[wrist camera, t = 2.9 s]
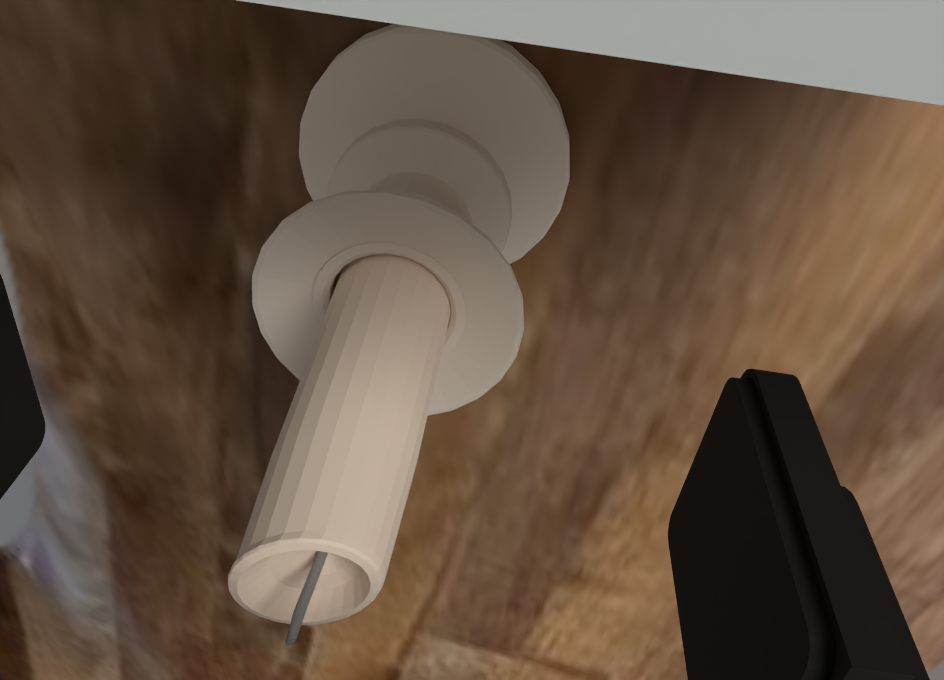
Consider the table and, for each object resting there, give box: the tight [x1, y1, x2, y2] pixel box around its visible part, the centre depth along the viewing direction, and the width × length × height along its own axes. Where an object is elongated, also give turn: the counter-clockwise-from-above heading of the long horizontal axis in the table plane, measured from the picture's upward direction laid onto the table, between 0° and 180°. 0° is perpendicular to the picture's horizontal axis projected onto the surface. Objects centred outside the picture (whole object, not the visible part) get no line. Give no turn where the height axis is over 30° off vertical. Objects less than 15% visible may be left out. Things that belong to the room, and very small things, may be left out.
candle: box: [228, 24, 570, 646], centre depth 11 cm, size 5×5×10 cm
